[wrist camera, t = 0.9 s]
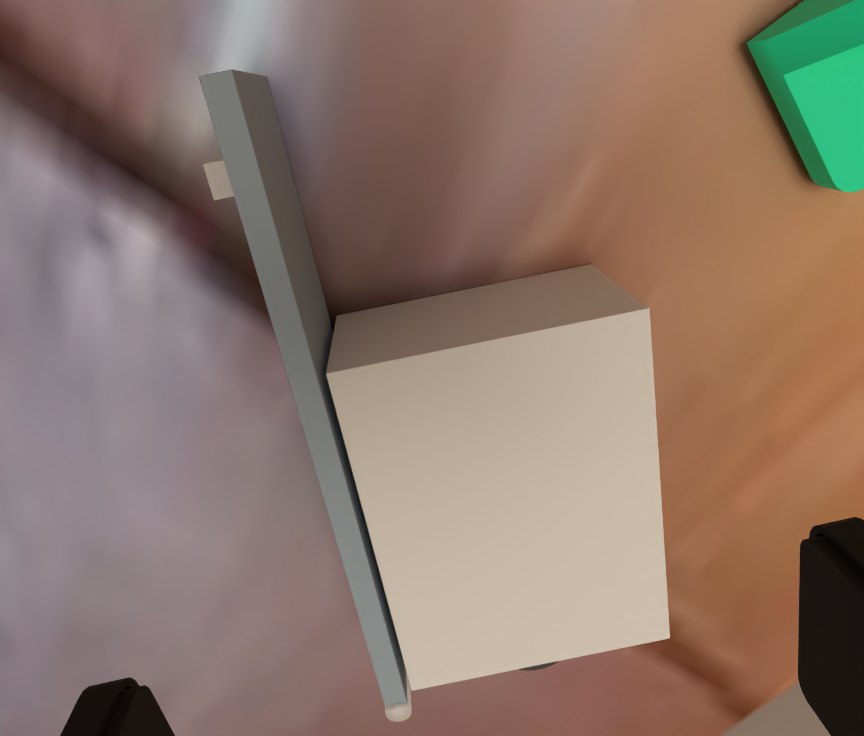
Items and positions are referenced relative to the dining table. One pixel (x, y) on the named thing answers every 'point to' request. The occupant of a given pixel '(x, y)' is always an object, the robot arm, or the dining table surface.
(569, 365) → the block
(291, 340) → the side door
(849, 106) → the camera mount
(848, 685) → the robot arm
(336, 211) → the dining table surface
